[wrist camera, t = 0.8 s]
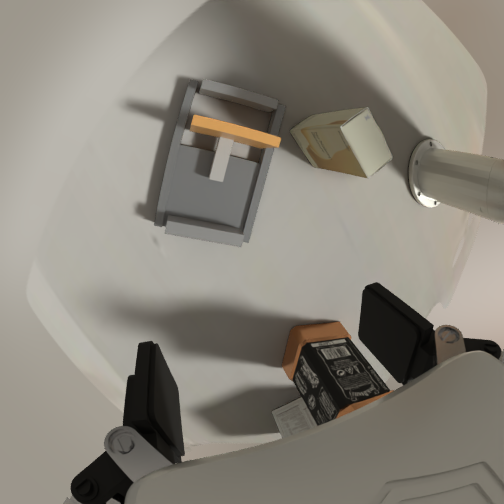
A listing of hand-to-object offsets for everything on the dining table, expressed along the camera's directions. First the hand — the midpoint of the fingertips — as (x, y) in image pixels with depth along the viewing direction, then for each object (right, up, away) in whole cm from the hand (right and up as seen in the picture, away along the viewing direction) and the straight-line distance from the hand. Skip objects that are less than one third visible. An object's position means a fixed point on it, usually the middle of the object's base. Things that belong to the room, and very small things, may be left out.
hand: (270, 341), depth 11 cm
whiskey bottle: (+10, -13, +35) cm, 39 cm away
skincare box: (+7, +19, +23) cm, 30 cm away
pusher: (-4, +15, +19) cm, 25 cm away
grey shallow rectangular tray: (-5, +15, +21) cm, 26 cm away
